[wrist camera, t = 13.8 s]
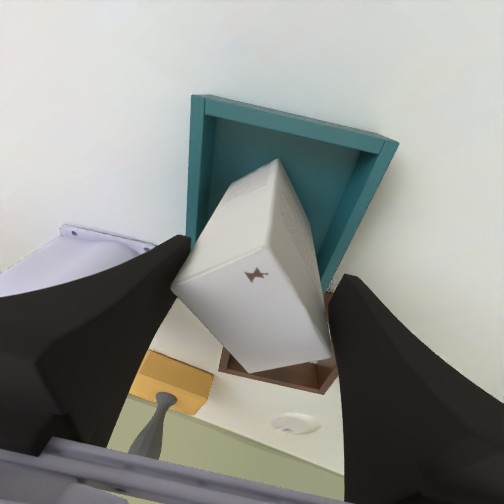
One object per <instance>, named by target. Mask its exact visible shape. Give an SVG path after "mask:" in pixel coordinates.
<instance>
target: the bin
mask: <svg viewBox="0 0 504 504" xmlns="http://www.w3.org/2000/svg"><path fill="white" fill-rule="evenodd" d="M398 146H399V142H397V141H394V140H392V139H389V138H387V137H385V136H382V135H380V134H377V133H372V132H368V131H364V130H360V129H355V128H351V127H347V126H342V125H338V124H334V123H329V122H325V121H321V120H316V119H312V118H308V117H303V116H299V115H295V114H290V113H286V112H282V111H277V110H273V109H269V108H264V107H260V106H256V105H252V104H247V103H243V102H239V101H234V100H230V99H226V98H221V97H217V96H213V95H192V96H191V116H190V141H189V166H188V191H187V216H186V236H187V237H191V250H192V248H193V247H194V245H195V243H196V242H197V240H198V238H199V237H200V235H201V233H202V232H203V230H204V228H205V227H206V225H207V223H208V222H209V220H210V218H211V216H212V215H213V213H214V212H215V210H216V208H217V206H218V205H219V203H220V201H221V200H222V198H223V196H224V195H225V193H226V191H227V190H228V188H229V186H230V184H231V183H232V182H234V181H236V180H238V179H240V178H242V177H244V176H246V175H247V174H249V173H251V172H253V171H254V170H256V169H258V168H260V167H262V166H264V165H266V164H267V163H269V162H271V161H273V160H275V159H277V158H280V160H281V162H282V165H283V167H284V169H285V171H286V173H287V175H288V177H289V179H290V181H291V184H292V186H293V188H294V190H295V192H296V194H297V196H298V199H299V201H300V203H301V205H302V207H303V209H304V211H305V213H306V216H307V218H308V220H309V222H310V226H311V232H312V238H313V244H314V249H315V255H316V261H317V266H318V272H319V277H320V283H321V288H322V294H323V296H324V294H325V292H326V290H327V288H328V286H329V284H330V282H331V280H332V278H333V276H334V274H335V272H336V270H337V268H338V266H339V264H340V262H341V260H342V258H343V256H344V254H345V252H346V250H347V248H348V246H349V244H350V242H351V240H352V238H353V236H354V234H355V232H356V230H357V228H358V226H359V224H360V222H361V220H362V218H363V216H364V214H365V212H366V210H367V208H368V206H369V204H370V202H371V200H372V198H373V196H374V194H375V192H376V190H377V188H378V186H379V184H380V182H381V180H382V178H383V176H384V174H385V172H386V170H387V168H388V166H389V164H390V162H391V160H392V158H393V156H394V154H395V152H396V150H397V148H398ZM190 252H191V251H190Z"/></svg>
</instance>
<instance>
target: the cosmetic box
mask: <svg viewBox="0 0 504 504" xmlns="http://www.w3.org/2000/svg"><path fill="white" fill-rule="evenodd" d="M170 288H171V291H172V292H173V293H174V294H175V295H176V296H177V297H178V298H179V299H180V300H181V301H182V302H183V303H184V304H185V305H186V306H187V307H188V308H189V309H190V310H191V312H192V313H193V314H194V315H195V316H196V317H197V318H198V319H199V320H200V321H201V322H202V323H203V324H204V325H205V327H206V328H207V329H208V330H209V331H210V332H211V333H212V334H213V335H214V336H215V337H216V338H217V340H218V341H219V342H220V343H221V344H222V345H223V346H224V347H225V348H226V349H227V350H228V351H229V352H230V353H231V354H232V356H233V357H234V358H235V359H236V360H237V361H238V362H239V363H240V364H241V365H242V366H243V367H244V369H245V370H246V371H247V372H248V373H254V372H260V371H265V370H270V369H275V368H280V367H285V366H290V365H296V364H301V363H306V362H312V361H318V360H323V359H329V358H331V357H332V356H333V353H332V347H331V341H330V336H329V330H328V324H327V318H326V312H325V306H324V300H323V294H322V288H321V283H320V277H319V272H318V266H317V261H316V255H315V249H314V244H313V238H312V232H311V226H310V222H309V220H308V218H307V216H306V213H305V211H304V209H303V207H302V205H301V203H300V201H299V199H298V196H297V194H296V192H295V190H294V188H293V186H292V184H291V181H290V179H289V177H288V175H287V173H286V171H285V169H284V167H283V165H282V162H281V160H280V158H277V159H275V160H273V161H271V162H269V163H267V164H266V165H264V166H262V167H260V168H258V169H256V170H254V171H253V172H251V173H249V174H247V175H246V176H244V177H242V178H240V179H238V180H236V181H234V182H232V183H231V184H230V186H229V188H228V190H227V191H226V193H225V195H224V196H223V198H222V200H221V201H220V203H219V205H218V206H217V208H216V210H215V212H214V213H213V215H212V216H211V218H210V220H209V222H208V223H207V225H206V227H205V228H204V230H203V232H202V233H201V235H200V237H199V238H198V240H197V242H196V243H195V245H194V247H193V248H192V250H191V252H190V254H189V255H188V257H187V259H186V260H185V262H184V264H183V265H182V267H181V269H180V270H179V272H178V274H177V275H176V277H175V279H174V280H173V282H172V284H171V287H170Z"/></svg>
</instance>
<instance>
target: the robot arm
mask: <svg viewBox="0 0 504 504" xmlns="http://www.w3.org/2000/svg"><path fill="white" fill-rule="evenodd" d="M59 229H60V233H61V236H59V237H58V238H56V239H54V240H53V241H51V242H50V243H48V244H46V245H45V246H43V247H42V248H40V249H38V250H37V251H35V252H34V253H32V254H30V255H29V256H27V257H25V258H24V259H22V260H21V261H19V262H17V263H16V264H14V265H13V266H11V267H9V268H8V269H6V270H5V271H4V272H2V273H1V274H0V504H128V501H127V500H126V499H123V498H121V497H118V496H116V495H112V494H110V493H107V492H105V491H109V492H114V493H119V494H123V495H128V496H132V497H136V498H141V499H146V500H150V501H155V502H159V503H164V504H504V404H503V403H502V402H500V401H499V400H497V399H496V398H494V397H493V396H491V395H490V394H488V393H487V392H485V391H484V390H483V389H481V388H480V387H478V386H477V385H476V384H474V383H473V382H471V381H470V380H469V379H467V378H466V377H464V376H463V375H462V374H461V373H459V372H458V371H457V370H455V369H454V368H453V367H451V366H450V365H449V364H448V363H446V362H445V361H444V360H443V359H441V358H440V357H439V356H438V355H436V354H435V353H434V352H433V351H432V350H431V349H429V348H428V347H427V346H426V345H425V344H424V343H422V342H421V341H420V340H419V339H418V338H417V337H416V336H415V335H414V334H412V333H411V332H410V331H409V330H408V329H407V328H406V327H405V326H404V325H403V324H402V323H401V322H400V321H399V320H398V319H397V318H396V317H395V316H394V315H393V314H392V313H391V312H390V311H389V309H388V308H387V307H386V306H385V305H384V304H383V303H382V302H381V301H380V300H379V299H378V298H377V297H376V295H375V294H374V293H373V292H372V291H371V290H370V289H369V288H368V287H367V286H366V285H365V284H364V282H363V281H362V280H361V279H359V278H358V277H357V276H353V275H348V274H344V275H343V277H342V279H341V281H340V283H339V285H338V287H337V288H336V290H335V292H334V294H333V296H332V298H331V299H330V301H329V303H328V320H329V328H330V334H331V339H332V344H333V349H334V354H335V359H336V364H337V369H338V375H339V382H340V392H341V403H342V418H343V437H344V482H345V496H344V501H339V500H334V499H331V498H326V497H321V496H317V495H313V494H308V493H304V492H299V491H294V490H290V489H286V488H281V487H277V486H272V485H267V484H263V483H259V482H254V481H250V480H245V479H241V478H237V477H232V476H228V475H223V474H218V473H214V472H210V471H205V470H201V469H196V468H192V467H187V466H183V465H178V464H174V463H169V462H165V461H161V460H156V459H152V458H147V457H143V456H138V455H134V454H129V453H124V452H120V451H116V450H112V449H107V448H106V447H107V445H108V442H109V439H110V437H111V435H112V432H113V429H114V427H115V425H116V422H117V420H118V417H119V414H120V412H121V410H122V407H123V405H124V402H125V400H126V398H127V395H128V393H129V391H130V388H131V386H132V384H133V381H134V379H135V377H136V375H137V372H138V370H139V368H140V366H141V363H142V361H143V359H144V357H145V355H146V352H147V350H148V348H149V346H150V344H151V342H152V340H153V338H154V336H155V334H156V332H157V330H158V328H159V327H160V325H161V323H162V322H163V320H164V318H165V317H166V315H167V313H168V312H169V310H170V308H171V307H172V305H173V303H174V302H175V300H176V298H177V296H176V295H175V294H174V293H173V292H172V291H171V288H170V287H171V284H172V282H173V280H174V279H175V277H176V275H177V274H178V272H179V270H180V269H181V267H182V265H183V264H184V262H185V260H186V259H187V257H188V255H189V254H190V251H191V237H187V236H183V235H179V234H178V235H176V236H174V237H173V238H171V239H169V240H167V241H165V242H164V243H162V244H160V245H158V246H155V245H152V244H148V243H143V242H139V241H134V240H130V239H126V238H121V237H117V236H112V235H108V234H104V233H99V232H95V231H90V230H86V229H82V228H77V227H73V226H68V225H63V226H61V227H60V228H59ZM147 248H148V249H149V250H148V249H147ZM99 489H100V490H99ZM102 490H105V491H102Z"/></svg>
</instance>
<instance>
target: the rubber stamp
mask: <svg viewBox="0 0 504 504" xmlns="http://www.w3.org/2000/svg"><path fill="white" fill-rule="evenodd" d="M212 380H213V375H212V374H209V373H207V372H204V371H202V370H199V369H196V368H194V367H191V366H189V365H186V364H184V363H181V362H179V361H176V360H174V359H171V358H168V357H166V356H163V355H161V354H158V353H156V352H153V351H151V350H148V352H147V353H146V355H145V357H144V359H143V361H142V363H141V366H140V368H139V370H138V372H137V375H136V377H135V379H134V381H133V384H132V386H131V388H130V391H129V393H130V394H133V395H136V396H138V397H141V398H144V399H147V400H150V401H152V402H155V403H157V404H158V407H157V411H156V412H155V414H154V416H153V417H152V419H151V420H150V421H149V423H148V424H147V425H146V427H145V428H144V429H143V430H142V431H141V432H140V434H139V435H138V436H137V438H136V439H135V441H134V442H133V444H132V445H131V447H130V449H129V452H128V453H129V454H134V455H138V456H143V457H147V458H152V459H156V460H159V457H160V453H161V447H162V433H163V422H164V417H165V414H166V411H167V410H168V408H172V409H175V410H178V411H180V412H183V413H186V414H189V415H195V414H196V413H197V411H198V410H199V409H200V408H201V407H202V406H203V405H204V404H205V403H206V402H207V399H208V396H209V392H210V388H211V384H212Z"/></svg>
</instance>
